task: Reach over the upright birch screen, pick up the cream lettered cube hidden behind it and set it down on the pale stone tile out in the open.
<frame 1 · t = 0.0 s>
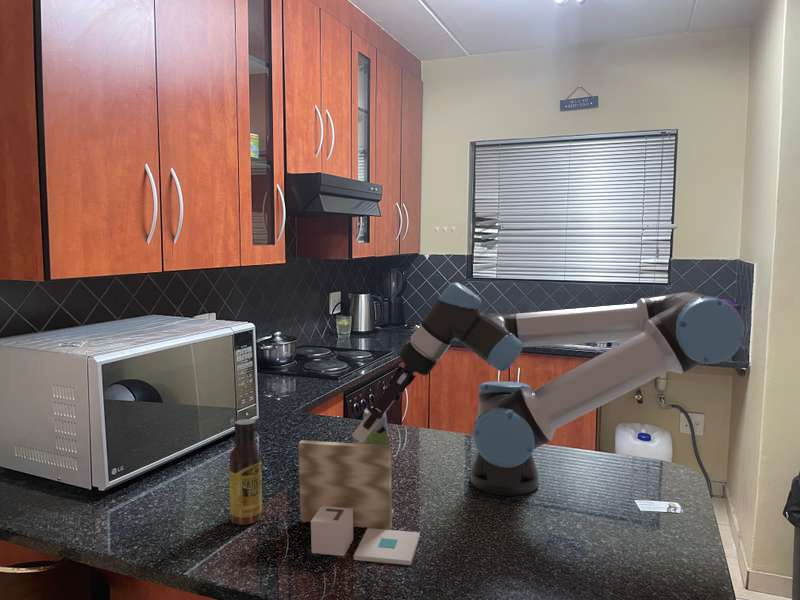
hand: (365, 428, 126), 15 cm above the countertop, tool tilted 35°, fingers open, 13 cm apart
letter cube: (332, 546, 108), on the countertop
screen: (345, 523, 116), on the countertop
beverage can: (376, 453, 156), on the countertop
tile: (388, 547, 107), on the countertop
sauce bottle: (246, 520, 119), on the countertop
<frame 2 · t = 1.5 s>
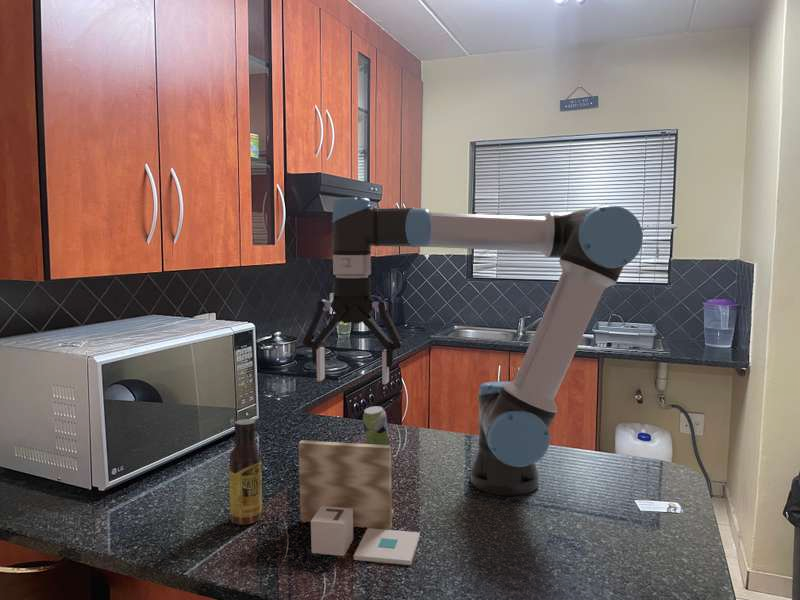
hand: (352, 381, 121), 27 cm above the countertop, tool pointing down, fingers open, 13 cm apart
nothing on the countertop moved.
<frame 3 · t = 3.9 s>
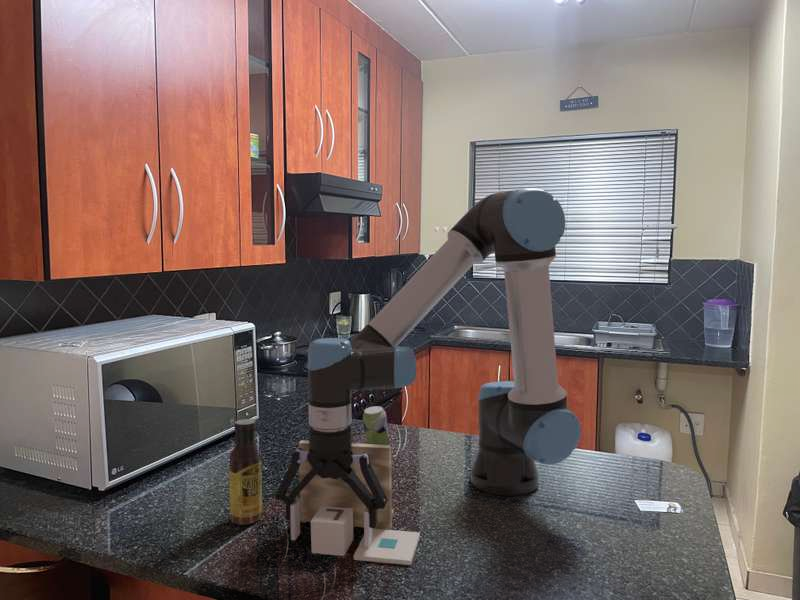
hand: (331, 540, 108), 1 cm above the countertop, tool pointing down, fingers open, 13 cm apart
nothing on the countertop moved.
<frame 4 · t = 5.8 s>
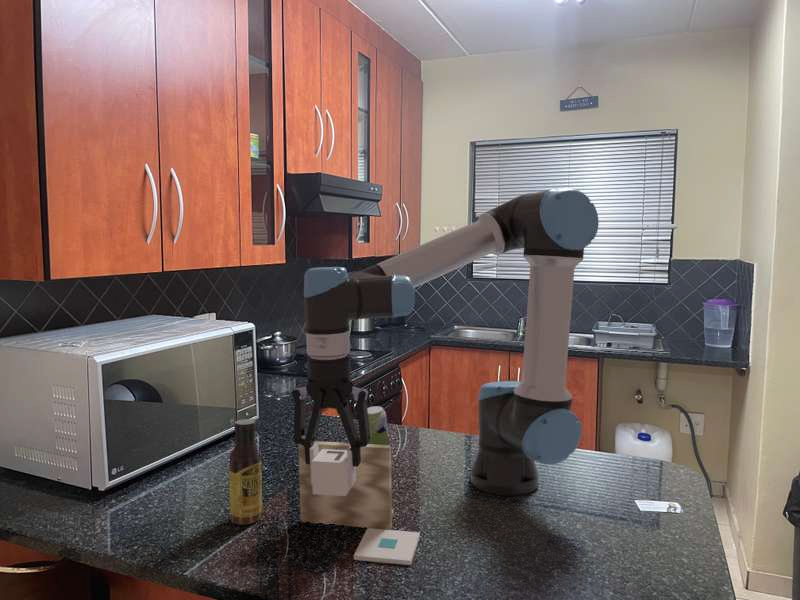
hand: (333, 481, 107), 12 cm above the countertop, tool pointing down, fingers closed on letter cube, 6 cm apart
letter cube: (334, 487, 107), point 11 cm above the countertop, touching gripper
everything else where it was.
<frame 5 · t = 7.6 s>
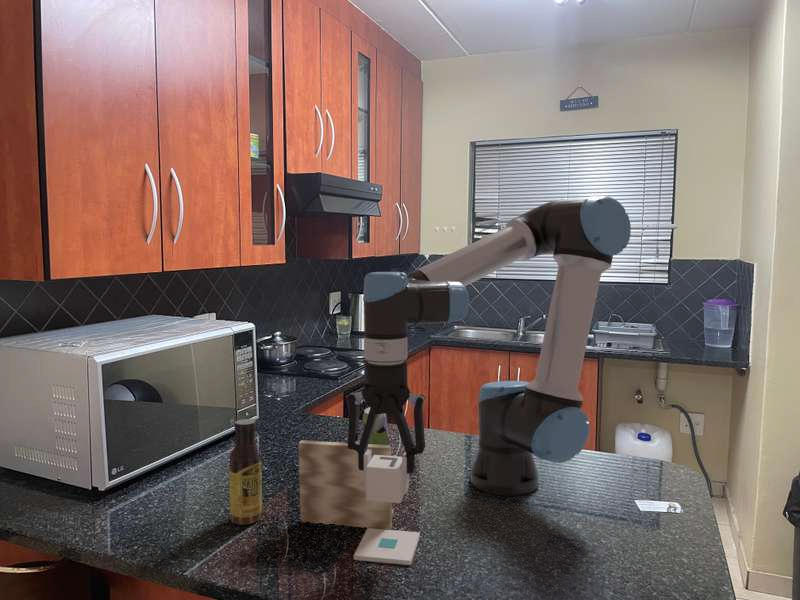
hand: (386, 488, 106), 11 cm above the countertop, tool pointing down, fingers closed on letter cube, 6 cm apart
letter cube: (386, 494, 106), point 10 cm above the countertop, touching gripper
everything else where it was.
when the fingers open (1 cm above the countertop, at t = 9.6 s): letter cube stays where it is, resting on tile.
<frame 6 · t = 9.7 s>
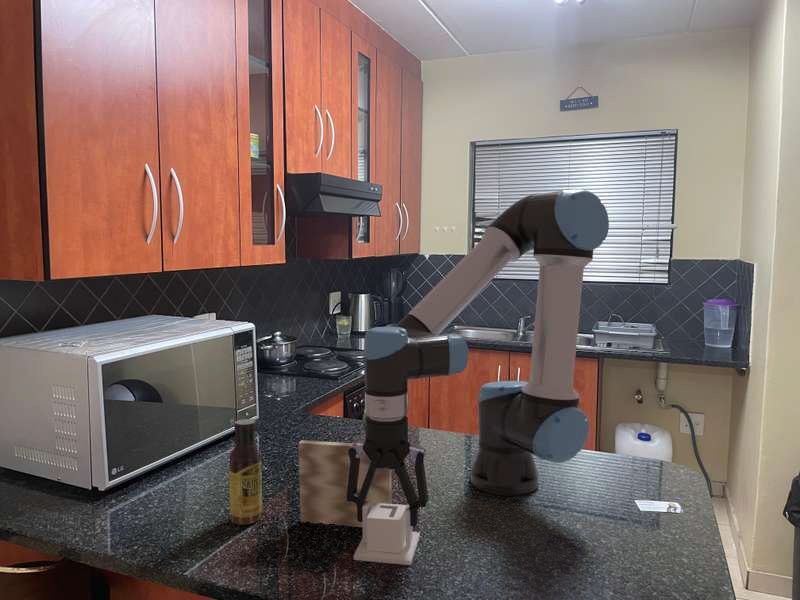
hand: (387, 540, 107), 1 cm above the countertop, tool pointing down, fingers open, 7 cm apart
letter cube: (387, 543, 107), point 1 cm above the countertop, touching tile
everything else where it was.
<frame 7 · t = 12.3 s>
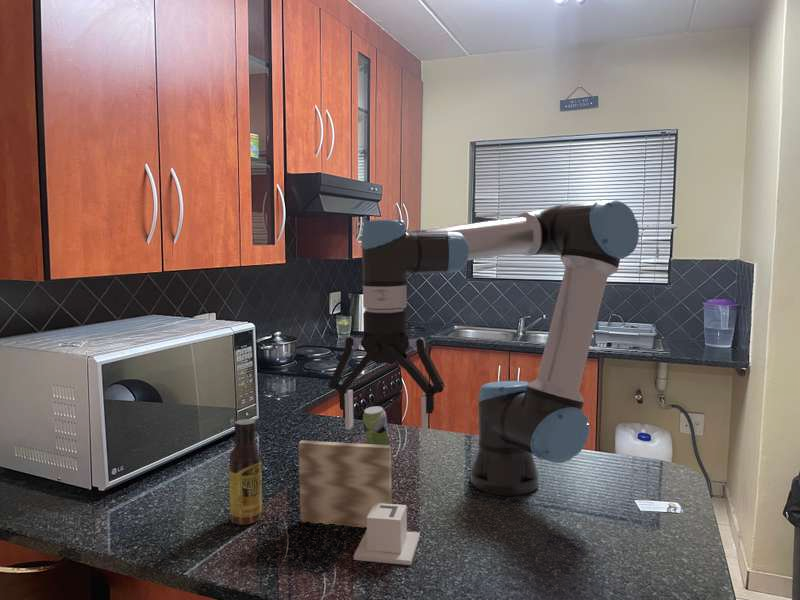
hand: (386, 429, 105), 22 cm above the countertop, tool pointing down, fingers open, 13 cm apart
nothing on the countertop moved.
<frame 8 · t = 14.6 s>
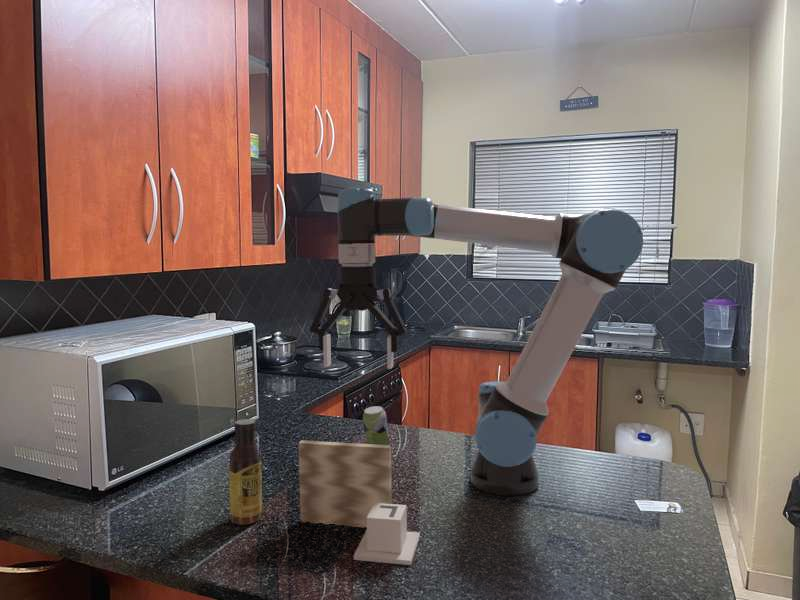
hand: (358, 366, 125), 29 cm above the countertop, tool pointing down, fingers open, 13 cm apart
nothing on the countertop moved.
at the end: letter cube inside the target area on the tile (0.1 cm from its centre), point 0.9 cm above the tile's base; letter cube tilted 0°; the gripper is holding nothing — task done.
